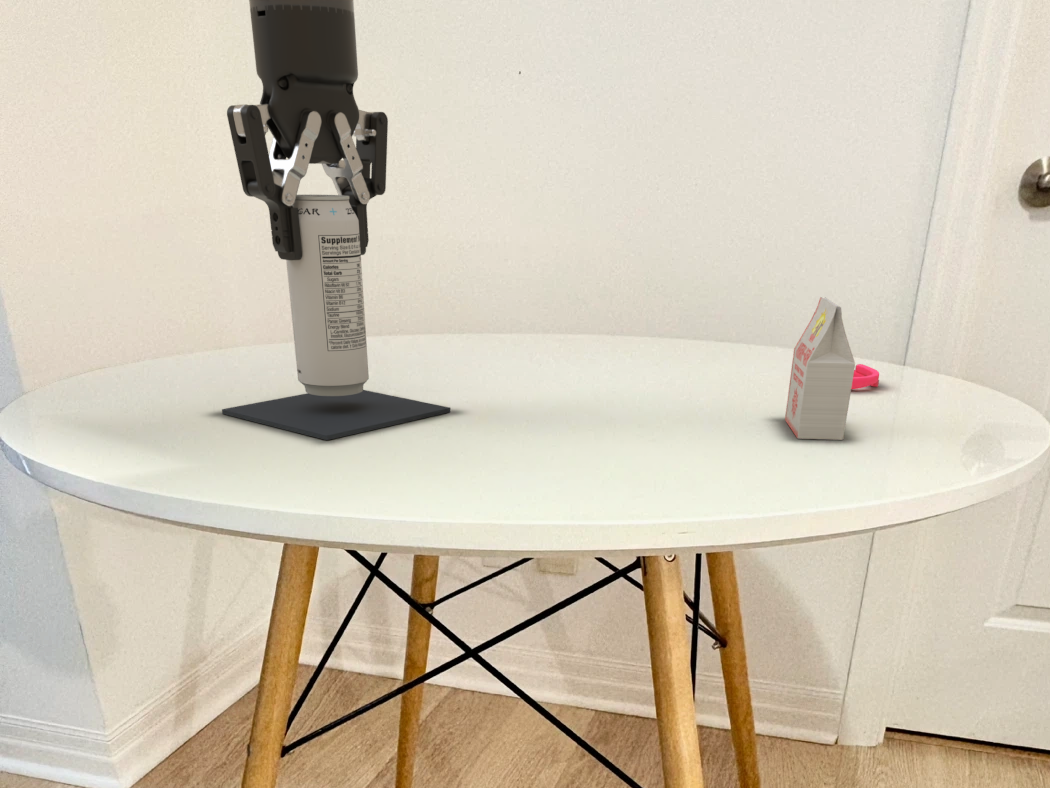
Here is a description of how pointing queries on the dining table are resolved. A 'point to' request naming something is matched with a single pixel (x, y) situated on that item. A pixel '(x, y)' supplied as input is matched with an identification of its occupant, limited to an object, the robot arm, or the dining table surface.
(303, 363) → the energy drink can
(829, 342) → the milk carton
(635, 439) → the dining table surface
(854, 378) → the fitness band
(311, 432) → the slate mat
